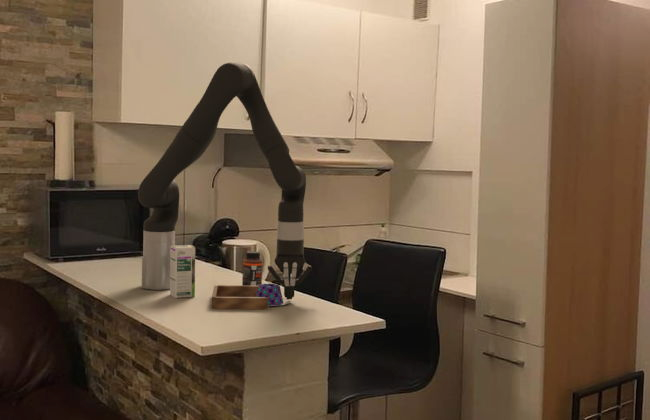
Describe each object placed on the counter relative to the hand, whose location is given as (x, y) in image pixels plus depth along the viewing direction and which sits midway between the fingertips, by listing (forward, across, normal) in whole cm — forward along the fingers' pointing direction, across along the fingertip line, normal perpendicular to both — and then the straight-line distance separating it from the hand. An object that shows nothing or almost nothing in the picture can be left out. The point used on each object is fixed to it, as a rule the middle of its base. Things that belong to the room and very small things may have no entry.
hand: (289, 298), depth 204 cm
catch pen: (+1, -13, 0) cm, 13 cm away
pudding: (+2, -6, 0) cm, 6 cm away
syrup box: (+1, -30, +8) cm, 31 cm away
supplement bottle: (+1, -10, +19) cm, 22 cm away
